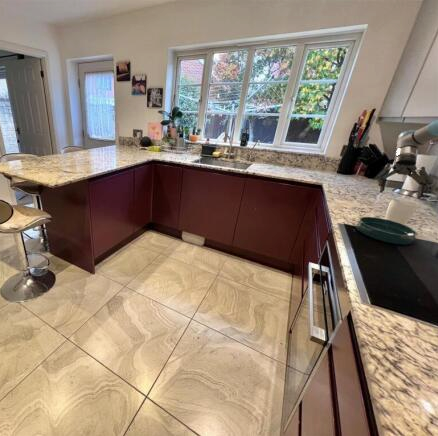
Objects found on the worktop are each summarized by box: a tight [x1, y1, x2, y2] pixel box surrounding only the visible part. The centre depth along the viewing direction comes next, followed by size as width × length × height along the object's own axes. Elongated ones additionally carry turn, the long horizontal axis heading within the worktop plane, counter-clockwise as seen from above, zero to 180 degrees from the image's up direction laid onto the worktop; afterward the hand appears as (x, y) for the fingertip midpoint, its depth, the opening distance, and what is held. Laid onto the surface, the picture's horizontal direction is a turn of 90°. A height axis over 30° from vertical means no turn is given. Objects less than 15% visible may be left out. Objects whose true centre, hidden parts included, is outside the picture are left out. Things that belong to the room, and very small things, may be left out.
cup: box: [384, 198, 420, 225], centre depth 108 cm, size 9×9×12 cm
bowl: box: [355, 216, 418, 246], centre depth 100 cm, size 18×18×4 cm
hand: (400, 194), depth 112 cm, fingers open, 13 cm apart
